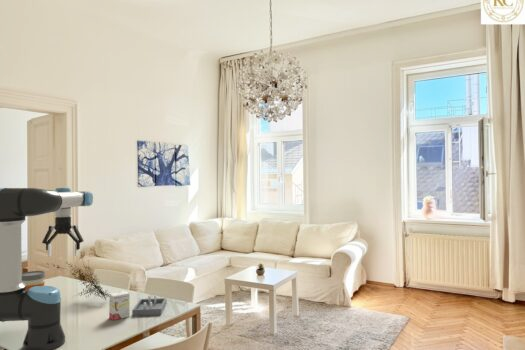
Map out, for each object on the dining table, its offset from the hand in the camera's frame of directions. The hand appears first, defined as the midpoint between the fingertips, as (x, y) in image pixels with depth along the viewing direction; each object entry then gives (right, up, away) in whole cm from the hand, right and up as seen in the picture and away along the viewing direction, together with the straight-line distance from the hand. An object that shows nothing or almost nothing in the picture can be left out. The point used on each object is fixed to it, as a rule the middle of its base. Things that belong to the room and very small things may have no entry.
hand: (63, 256), depth 206 cm
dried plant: (+4, -28, +12) cm, 30 cm away
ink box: (+36, -27, -16) cm, 48 cm away
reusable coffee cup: (-25, -28, +15) cm, 41 cm away
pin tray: (+48, -27, -4) cm, 55 cm away
